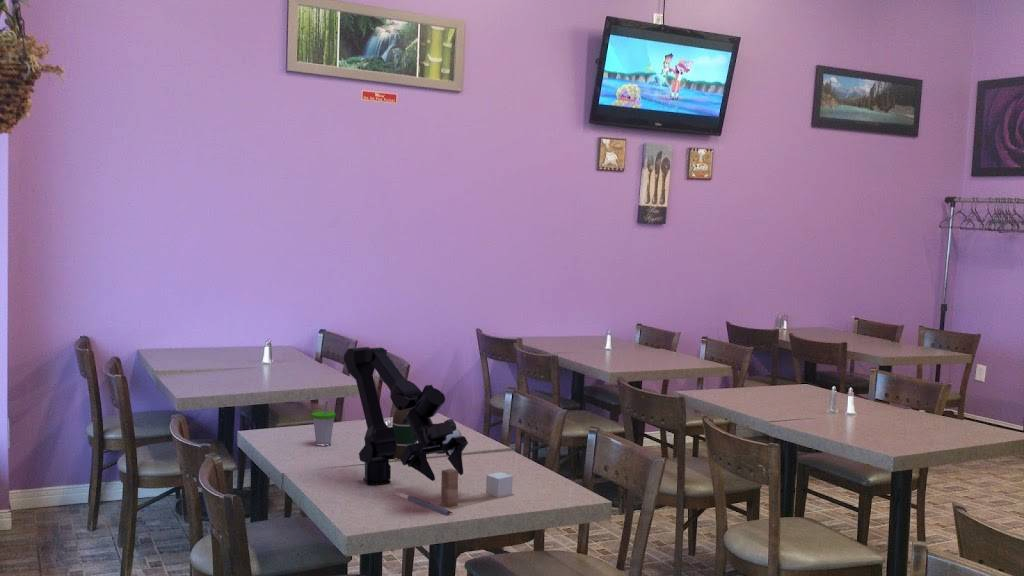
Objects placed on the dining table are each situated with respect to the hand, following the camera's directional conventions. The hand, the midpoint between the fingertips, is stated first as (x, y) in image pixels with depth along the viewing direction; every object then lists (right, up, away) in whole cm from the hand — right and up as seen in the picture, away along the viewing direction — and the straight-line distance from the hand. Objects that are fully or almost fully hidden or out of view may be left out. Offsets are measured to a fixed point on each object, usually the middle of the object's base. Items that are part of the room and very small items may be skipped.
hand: (448, 477), depth 247 cm
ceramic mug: (-6, -4, +64) cm, 64 cm away
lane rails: (+4, -8, +10) cm, 13 cm away
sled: (+7, -8, +6) cm, 12 cm away
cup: (-45, -3, +67) cm, 81 cm away
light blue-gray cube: (+13, -7, +11) cm, 18 cm away
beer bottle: (-17, -4, +53) cm, 56 cm away
